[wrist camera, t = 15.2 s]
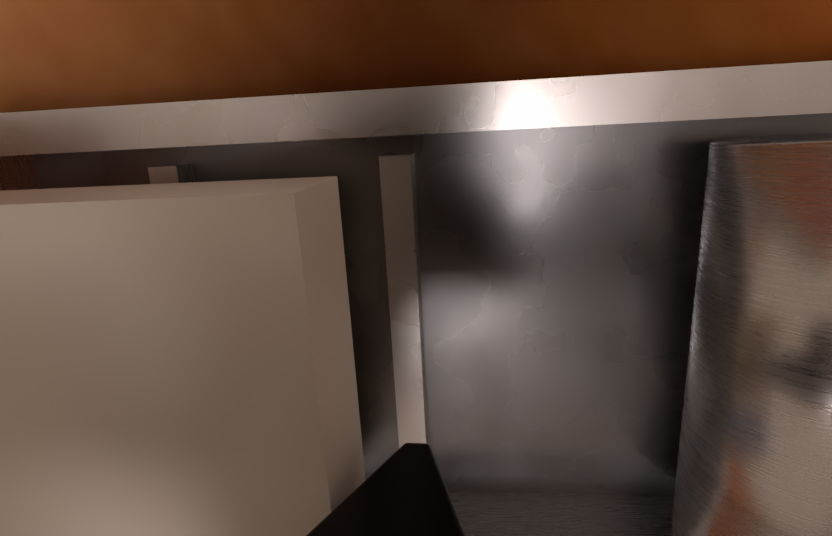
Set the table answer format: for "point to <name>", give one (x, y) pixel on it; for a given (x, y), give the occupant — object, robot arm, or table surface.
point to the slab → (175, 360)
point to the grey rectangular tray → (551, 279)
